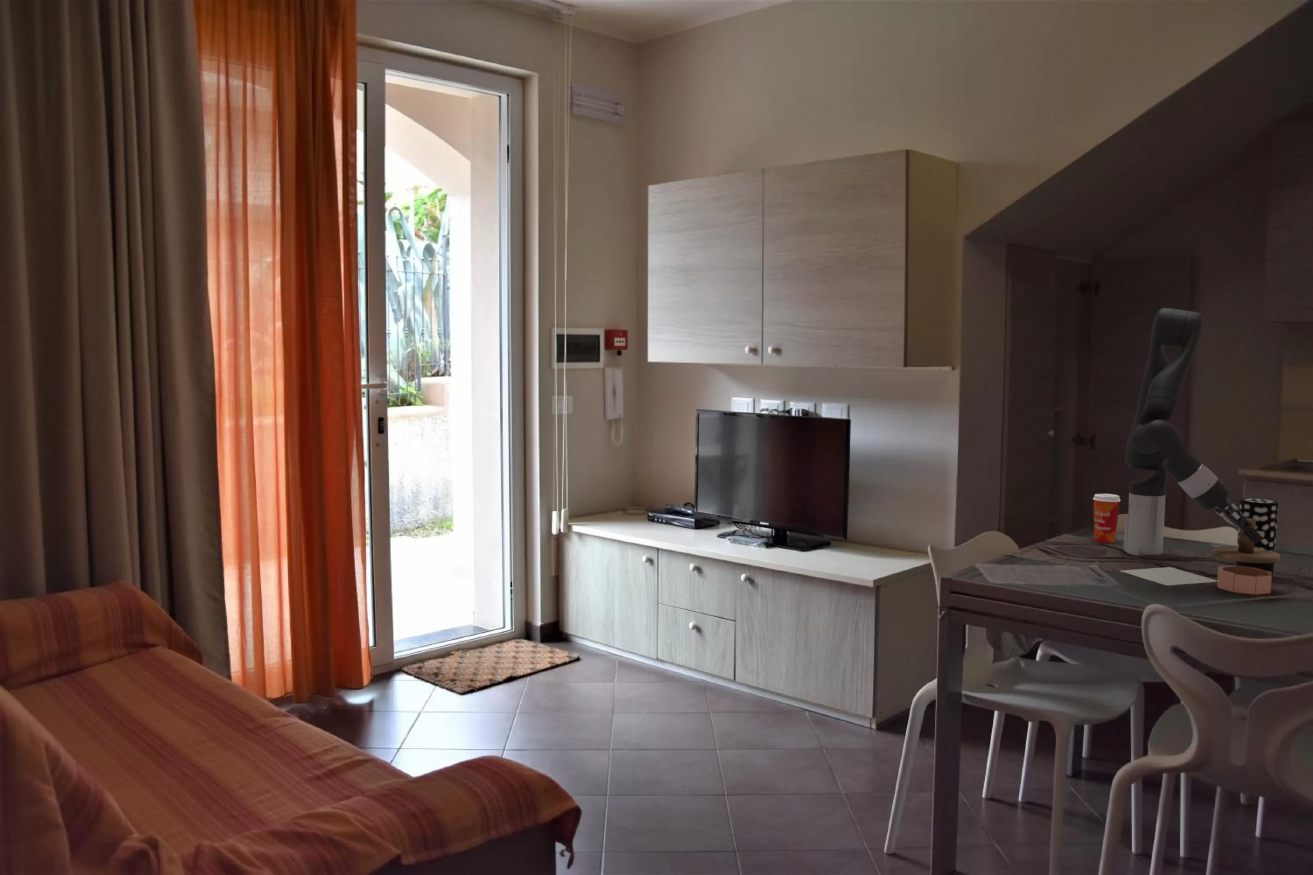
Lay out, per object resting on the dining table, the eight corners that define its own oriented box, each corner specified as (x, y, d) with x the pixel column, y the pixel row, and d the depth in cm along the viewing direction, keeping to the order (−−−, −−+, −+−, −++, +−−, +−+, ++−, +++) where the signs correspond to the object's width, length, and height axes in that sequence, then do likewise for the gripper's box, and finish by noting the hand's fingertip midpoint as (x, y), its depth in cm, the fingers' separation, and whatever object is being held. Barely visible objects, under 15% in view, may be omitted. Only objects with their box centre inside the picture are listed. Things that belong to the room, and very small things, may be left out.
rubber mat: (1119, 573, 259) (1119, 570, 259) (1169, 569, 263) (1170, 566, 263) (1166, 588, 244) (1167, 585, 244) (1219, 584, 248) (1219, 581, 248)
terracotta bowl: (1206, 587, 245) (1207, 567, 245) (1242, 584, 248) (1243, 564, 248) (1244, 598, 235) (1245, 577, 234) (1281, 595, 238) (1282, 574, 237)
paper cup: (1085, 539, 303) (1087, 493, 302) (1105, 538, 305) (1108, 492, 304) (1103, 544, 296) (1106, 497, 294) (1124, 543, 298) (1127, 496, 297)
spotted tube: (1227, 575, 257) (1232, 499, 255) (1251, 573, 260) (1256, 497, 258) (1257, 583, 250) (1262, 504, 248) (1280, 580, 253) (1286, 502, 251)
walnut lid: (1198, 552, 245) (1201, 515, 244) (1244, 549, 249) (1246, 513, 248) (1247, 564, 232) (1249, 525, 231) (1294, 561, 236) (1296, 523, 235)
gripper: (1224, 479, 234) (1279, 534, 232) (1208, 472, 247) (1260, 524, 245) (1197, 501, 236) (1252, 555, 234) (1183, 492, 249) (1235, 543, 247)
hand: (1256, 538), depth 240 cm, fingers closed on walnut lid, 3 cm apart
